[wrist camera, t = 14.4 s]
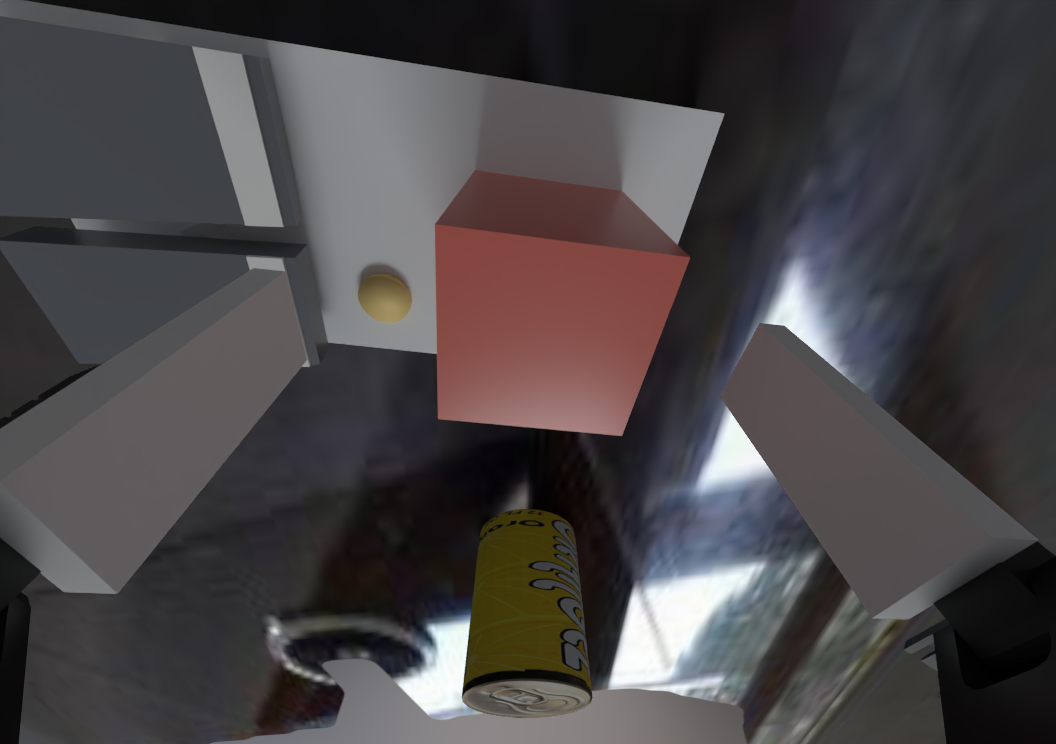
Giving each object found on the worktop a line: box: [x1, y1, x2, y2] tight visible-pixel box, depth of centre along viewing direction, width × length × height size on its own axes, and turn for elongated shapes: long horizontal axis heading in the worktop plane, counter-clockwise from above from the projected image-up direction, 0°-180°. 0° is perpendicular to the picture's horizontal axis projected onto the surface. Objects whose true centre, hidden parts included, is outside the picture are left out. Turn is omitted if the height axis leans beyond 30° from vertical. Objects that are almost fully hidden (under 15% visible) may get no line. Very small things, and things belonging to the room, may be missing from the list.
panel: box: [0, 0, 724, 354], centre depth 16 cm, size 26×12×8 cm, turn 83°
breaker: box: [0, 16, 302, 227], centre depth 12 cm, size 9×5×2 cm, turn 82°
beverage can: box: [462, 509, 592, 718], centre depth 31 cm, size 9×9×12 cm
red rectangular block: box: [435, 170, 690, 436], centre depth 14 cm, size 6×6×8 cm
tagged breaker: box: [0, 226, 329, 367], centre depth 15 cm, size 9×5×2 cm, turn 83°
